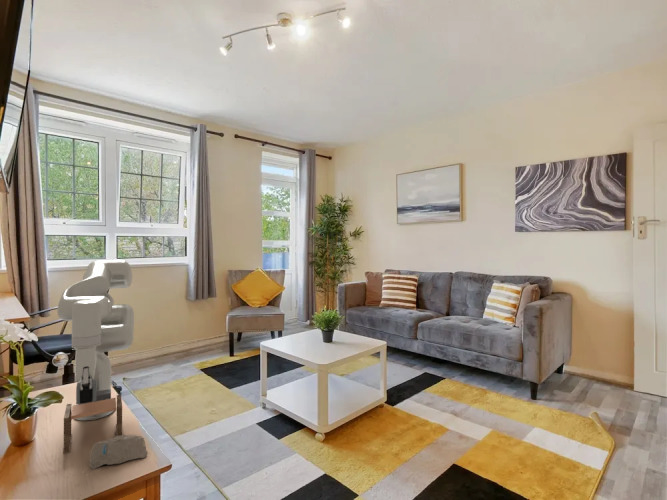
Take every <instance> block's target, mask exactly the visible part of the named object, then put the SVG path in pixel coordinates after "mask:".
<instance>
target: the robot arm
mask: <svg viewBox="0 0 667 500" xmlns="http://www.w3.org/2000/svg"><path fill="white" fill-rule="evenodd" d="M132 283H133V272H132V268H131V265H130V264H129V262H127V260H124V259H123V260H122V259H114V260H113V259H107V260H105V259H101V260H99V259H98V260H94V261H92V262H90V263H88V265H87V267H86V271H85V272H84V274H83V275H82V280H80V281H78V282H75V283H73V284H71V285H70V286H68V287H66V289H64V290H63V292H62V293H61V295H60V298H59V301H58V304H57V310H56V311H57V315H58V318H59V319H60V320H61V321H64V322H71V348H73V349H75V357H74V358H75V359H74V363H75V364H74V382H81V390H80V404H82V403H87V402H92V401H93V388H92V380H96V379H97V390H96V391H102V390H108V389H111V390H112V362H111V360H110V358H109V357H108V356H107V354H105V353H106V352H115V351H122V350H123V351H124V350H127V349H129V348H131V346H132V345H133V342H134V335H135V333H134V329H135V313H134V312H135V311H134V309H133V307H132V306H131V305H130V304H123V303H122V304H120V303H119V304H114V303H115V301H114V297H112V296H111V295H110V293H108V291H109V290H111V289H127V288H129V287H130V286H131V285H132ZM88 381H90V383H89V382H88ZM89 386H90V387H89ZM113 413H114V411H110V412H105V413H101V414H96V415H91V416H86V417H81V418H76V419H75V420H78V421H92V420H98V419H101V418H104V417H107V416H109V415H111V414H113Z"/></svg>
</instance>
